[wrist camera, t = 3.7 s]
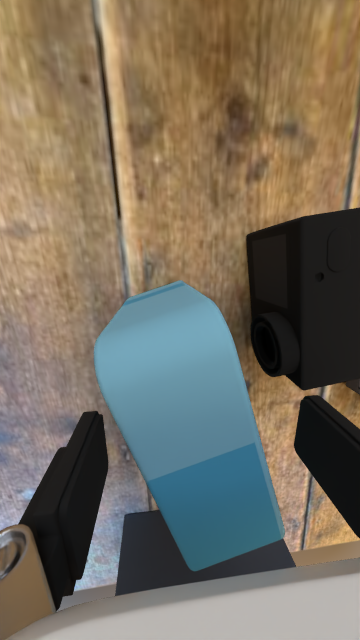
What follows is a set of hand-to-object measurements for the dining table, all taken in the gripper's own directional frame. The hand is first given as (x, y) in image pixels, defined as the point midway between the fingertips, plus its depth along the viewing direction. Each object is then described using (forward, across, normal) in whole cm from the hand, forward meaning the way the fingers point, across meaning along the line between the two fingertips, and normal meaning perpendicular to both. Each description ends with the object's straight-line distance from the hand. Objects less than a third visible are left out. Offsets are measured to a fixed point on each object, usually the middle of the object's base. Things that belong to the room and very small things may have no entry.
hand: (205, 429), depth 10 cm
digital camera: (+10, -8, -5) cm, 14 cm away
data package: (+10, 0, 0) cm, 10 cm away
